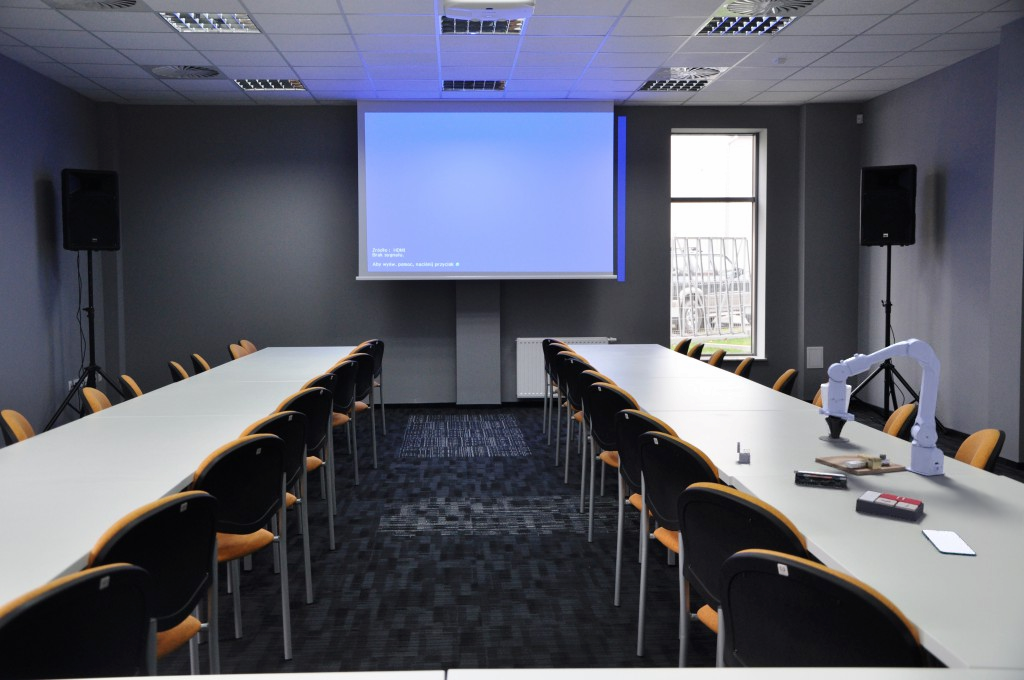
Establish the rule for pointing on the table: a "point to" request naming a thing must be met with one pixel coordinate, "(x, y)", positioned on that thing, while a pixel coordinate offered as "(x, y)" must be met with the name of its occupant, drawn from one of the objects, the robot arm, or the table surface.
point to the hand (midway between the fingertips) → (835, 438)
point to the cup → (825, 404)
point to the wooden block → (871, 461)
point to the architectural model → (743, 455)
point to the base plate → (840, 464)
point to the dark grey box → (889, 506)
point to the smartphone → (948, 542)
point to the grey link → (864, 463)
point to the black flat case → (821, 479)
